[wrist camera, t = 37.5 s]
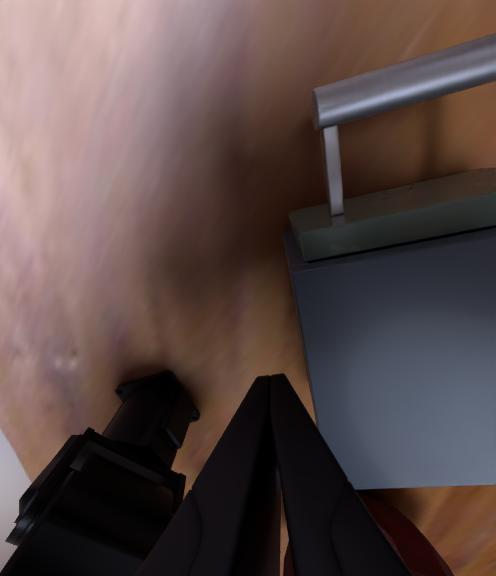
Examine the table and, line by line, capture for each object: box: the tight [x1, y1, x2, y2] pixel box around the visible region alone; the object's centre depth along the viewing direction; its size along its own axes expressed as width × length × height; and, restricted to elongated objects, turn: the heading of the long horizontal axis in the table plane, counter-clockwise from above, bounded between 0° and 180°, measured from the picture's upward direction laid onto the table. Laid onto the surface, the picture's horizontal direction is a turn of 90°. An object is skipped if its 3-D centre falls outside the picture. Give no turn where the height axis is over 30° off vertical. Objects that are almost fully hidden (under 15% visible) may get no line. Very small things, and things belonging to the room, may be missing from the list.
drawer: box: [288, 33, 496, 263], centre depth 13 cm, size 18×11×7 cm, turn 13°
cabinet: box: [282, 228, 496, 490], centre depth 15 cm, size 14×12×9 cm
